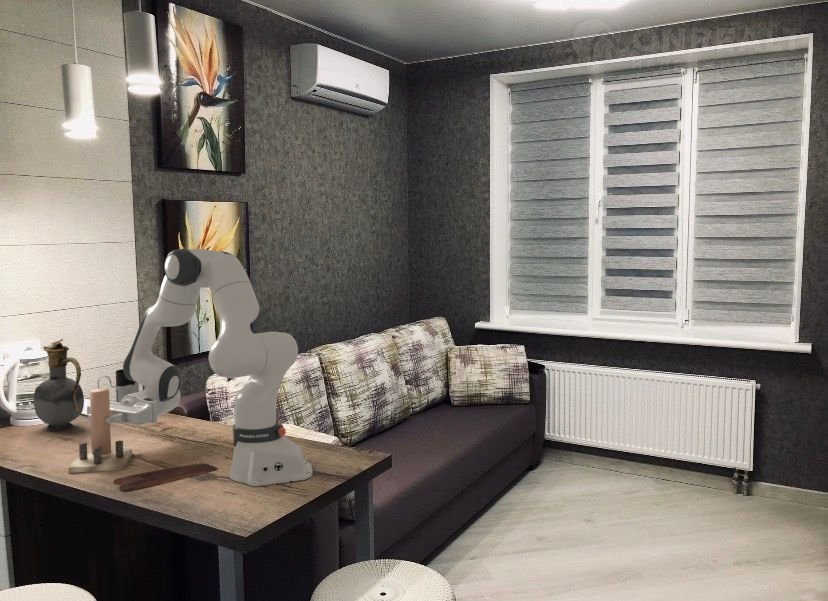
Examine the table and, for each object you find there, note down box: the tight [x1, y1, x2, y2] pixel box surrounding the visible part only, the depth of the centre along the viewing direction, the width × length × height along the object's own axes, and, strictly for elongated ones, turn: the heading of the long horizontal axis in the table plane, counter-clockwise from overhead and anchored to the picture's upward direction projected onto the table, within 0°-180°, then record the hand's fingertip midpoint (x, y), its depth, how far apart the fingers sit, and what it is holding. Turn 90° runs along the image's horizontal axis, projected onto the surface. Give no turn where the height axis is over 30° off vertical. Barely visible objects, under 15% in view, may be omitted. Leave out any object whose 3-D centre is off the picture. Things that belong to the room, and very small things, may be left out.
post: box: [89, 388, 112, 455], centre depth 195 cm, size 5×5×18 cm
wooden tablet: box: [112, 462, 219, 493], centre depth 187 cm, size 26×2×10 cm
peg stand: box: [68, 440, 133, 474], centre depth 196 cm, size 14×14×6 cm
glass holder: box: [96, 368, 140, 403], centre depth 250 cm, size 9×14×15 cm, turn 119°
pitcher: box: [33, 338, 85, 432], centre depth 228 cm, size 11×19×30 cm, turn 61°
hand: (97, 419), depth 195 cm, fingers closed on post, 5 cm apart
